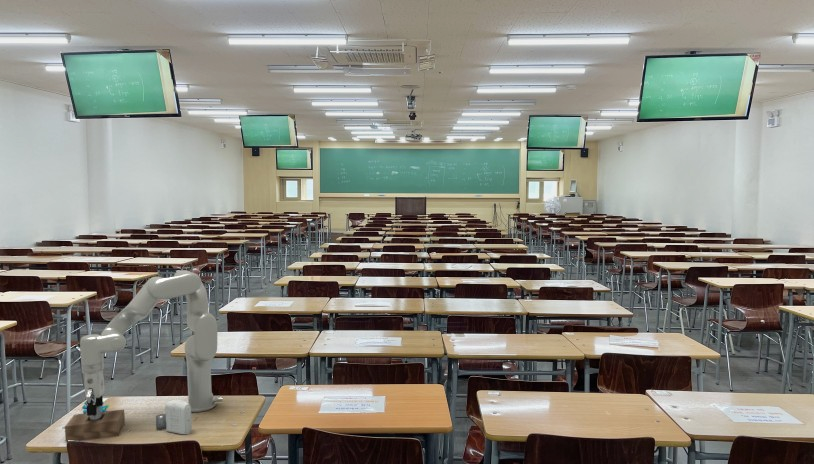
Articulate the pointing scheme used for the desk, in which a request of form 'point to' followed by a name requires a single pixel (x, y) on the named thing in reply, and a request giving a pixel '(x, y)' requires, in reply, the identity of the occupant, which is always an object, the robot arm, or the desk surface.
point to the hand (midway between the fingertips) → (95, 410)
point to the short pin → (161, 422)
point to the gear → (103, 408)
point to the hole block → (95, 426)
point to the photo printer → (178, 417)
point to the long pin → (98, 415)
